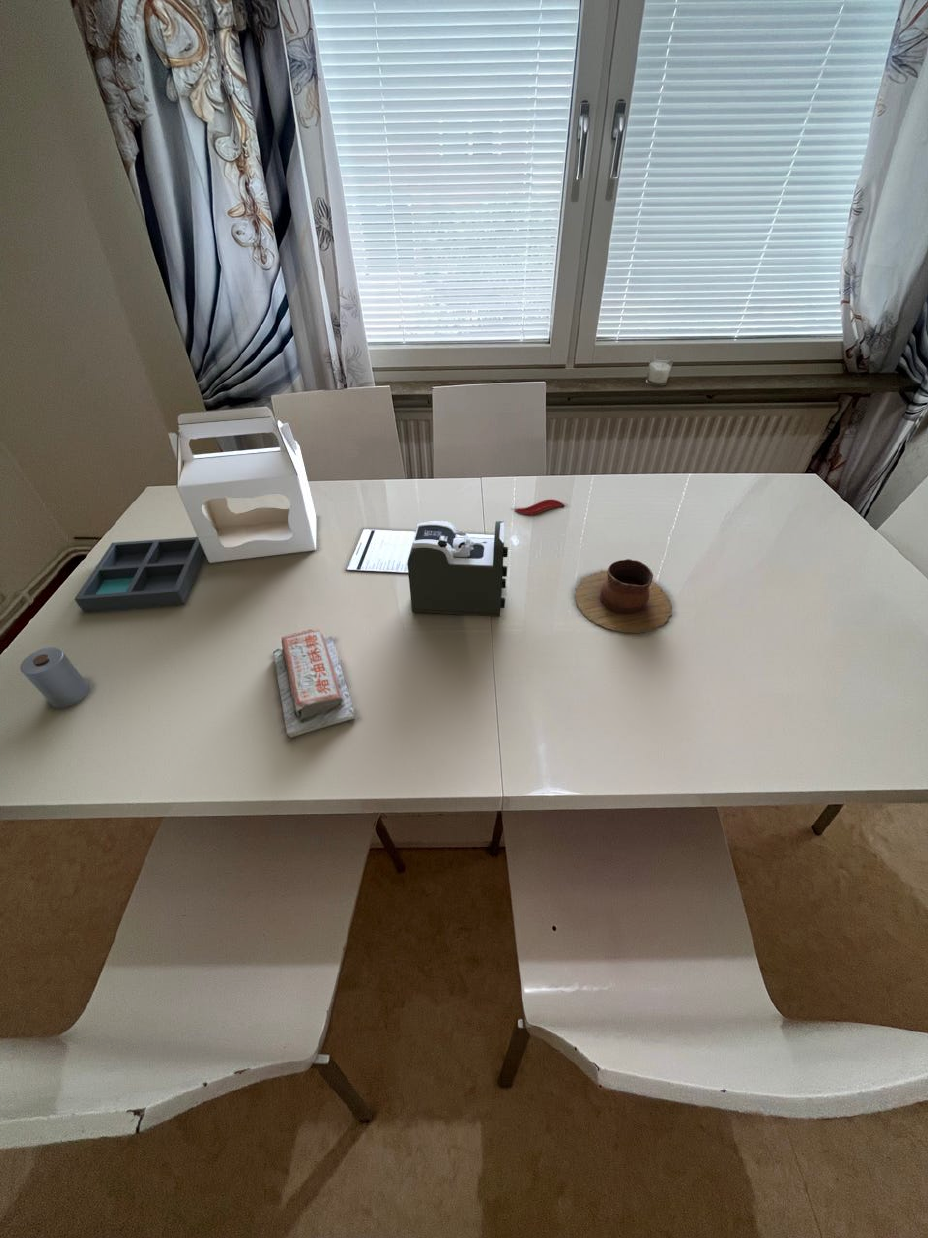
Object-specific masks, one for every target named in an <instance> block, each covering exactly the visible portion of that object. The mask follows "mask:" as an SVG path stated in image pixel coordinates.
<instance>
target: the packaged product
mask: <svg viewBox="0 0 928 1238" xmlns="http://www.w3.org/2000/svg"><path fill="white" fill-rule="evenodd" d="M281 647H282V648H276V649H275V650H274V651H273V652H272V653H273V654H272V655H273V660H274V666H275V670H276V677H277V683H278V688H279V695H280V700H281V704H282V706H281V707H282V711H283V718H284V725H285V729H286V735H287V736H288V737H289V738H290V739H292V738H294V737H297V736H300V735H304V734H307V733H311V732H314V731H317V730H320V729H323V728H327V727H330V726H333V725H336V724H340V723H343V722H346V721H351V720H354V719H356V717H355V715H356V714H355V710H354V707H353V703H352V700H351V695H350V693H349V689H348V686H347V683H346V680H345V676H344V672H343V670H342V666H341V663H340V659H339V656H338V655H339V654H338V651H337V648H336V645H335V643H334V639H333V636H332V635H331V636H328V637H324V635H323V632H322V631H321V630H319V629H307V630H302V631H300V632H295V633H292V634H288V635H287V634H286V635H283V636H281Z"/></svg>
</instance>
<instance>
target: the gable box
mask: <svg viewBox="0 0 928 1238" xmlns="http://www.w3.org/2000/svg"><path fill="white" fill-rule="evenodd" d="M177 423H178V424H177V427H178V431H177V432H174V431H169V432H168V433H167V434H168V437H169V441H170V444H171V448H172V451H173V454H174V457H175V460H176V476H175V477H176V478H175V479H176V485H175V487H176V490H177V492H178V495H179V498H180V500H181V501H182V504H183V507H184V509H185V511H186V513H187V516H188V518H189V520H190V522H191V525H192V527H193V530H194V531H195V534H196V537H198V539H199V541H200V543H201V546H202V548H203V550H204V553H205V557H206V560H207V562H208V563H210V564H213V563H223V562H230V561H238V560H245V559H254V558H261V557H271V556H279V555H287V554H288V555H289V554H295V553H303V552H304V553H305V552H312V551H316V550H317V515H316V509H315V505H314V501H313V497H312V493H311V489H310V485H309V481H308V476H307V472H306V468H305V464H304V460H303V455H302V450H301V446H300V445H299V444H298V442H297V441H296V440H295V437H294V434H293V432H292V431H293V430H292V429H291V425H290V422H289V421H286V422H283V423H282V421H280V420H279V419H278V420H277V418H276V417H275V415H274V413H273V410H272V409H271V408H270V407H269V406H257V407H255V406H254V407H246V408H245V407H243V408H232V409H219V410H208V411H195V412H194V411H193V412H183V413H182V412H181V413H179V414H178V415H177ZM262 433H263V434H264V433H265V434H269V433H272V434H274V435H275V437H276V438H277V441H278V442H277V443H278V446H275V447H266V448H264V447H263V448H255V449H244V450H233V451H222V452H212V453H211V452H210V453H201V454H200V453H199V454H194V453H193V450H192V448H191V445H190V441H191V440H198V439H207V438H208V439H209V438H219V437H231V436H241V435H253V434H262ZM270 495H281V496H283V497H286V498H287V499H288V500H289V507H288V508H282V507H276V506H263V507H257V508H253V509H251V510H248V511H244V512H233V511H232V510H231V509H230V508H229V504H228V500H227V499H255V498H260V497H263V496H270Z"/></svg>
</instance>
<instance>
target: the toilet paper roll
mask: <svg viewBox="0 0 928 1238" xmlns="http://www.w3.org/2000/svg"><path fill="white" fill-rule="evenodd" d="M19 666H20V667H19V668H20V671H21V673H22V674H23V675H24V676H25V677H26V679H28V680H29V682H30V683H31V684H32V685H33V686H34V687H35V688H36V689H37V690H38V692H39V693H40V694H41V695H42V696H43V698H45V699H46V701H48V703H49V704H50V705H51V706H52V707H53V708H56V709H57V708H58V709H66V708H69V707H70V708H71V707H72V706H75V705H77V704H79V703H80V702H81V701H83V700H84V699H85V698H86V696H88V694H89V692H90V689H91V688H90V684H89V683H88V682H87V680H86V679H85V678H84V677H83V676H82V674H81V673H80V672H79V670H78V669H77V668H76V667H75V665H74V664H73V663H72V662H71V660H70V659H69V658H68V657H67V654H65V653H64V651H63V650H62V649H61V648H59V647H57V646H56V647H55V646H52V647H51V646H50V647H44V648H41V649H39V650H36V651H34V652H32V653H30V654H29V655H28V656H26V657H25V659H24V660H22V662H21V664H20V665H19Z"/></svg>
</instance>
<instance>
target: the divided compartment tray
mask: <svg viewBox="0 0 928 1238" xmlns="http://www.w3.org/2000/svg"><path fill="white" fill-rule="evenodd" d="M205 557H206V555H205V553H204V550H203V548H202V546H201V543H200V541H199V539H198V537H197V536H189V537H175V538H174V537H173V538H161V539H146V540H132V541H131V540H130V541H118V542H117V541H116V542H111V543H110V545H109V547H108V548H107V550H106V551H105V553H104V554H103V556H102V557H101V559H100V560H99V562H97V565H96V566H95V568H94V569H93V571H92V572H91V573H90V574H89V576H88V578H87V580H86V581H85V583H84V584H83V586H82V587H81V589H80V590H79V591H78V593H77V595H76V596H75V598H74V601H75V602H76V604H77V605H78V607H79V608H80V610H81V611H82V612H83V613H96V612H108V611H109V612H110V611H120V610H121V611H122V610H134V609H147V608H158V607H170V606H171V607H172V606H173V607H174V606H183V605H185V604H186V601H187V599H188V598H189V597H188V596H189V594H190V592H191V590H192V587H193V585H194V583H195V580H196V578H197V575H198V573H199V571H200V569H201V566H202V564H203V561H204V559H205Z"/></svg>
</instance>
